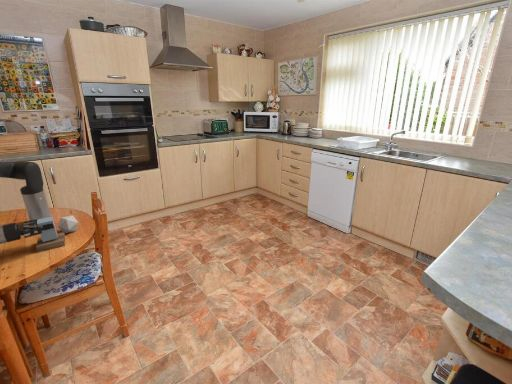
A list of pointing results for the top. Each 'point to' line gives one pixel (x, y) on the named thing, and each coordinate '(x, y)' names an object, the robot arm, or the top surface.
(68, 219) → the die
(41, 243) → the walnut base
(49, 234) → the gray block
